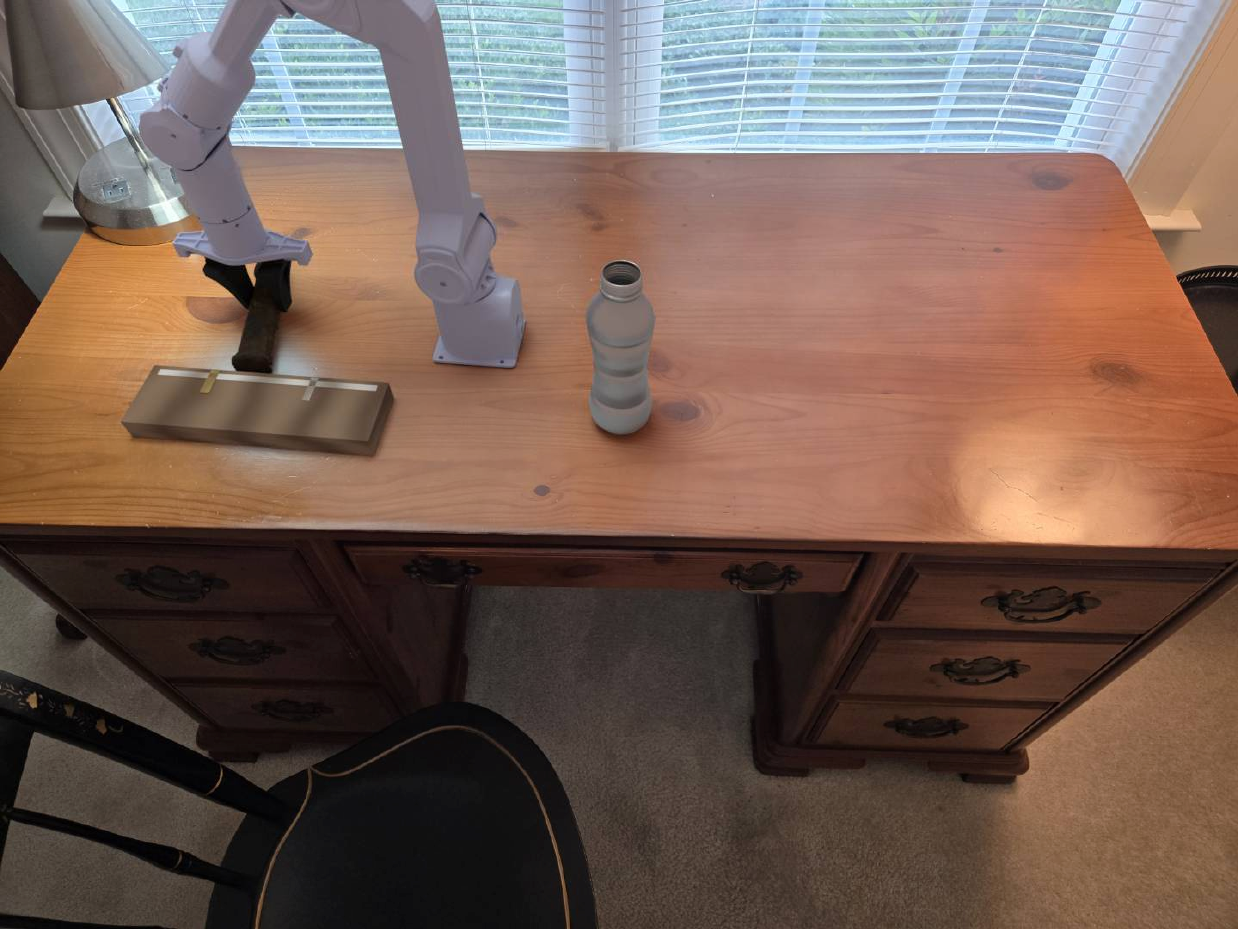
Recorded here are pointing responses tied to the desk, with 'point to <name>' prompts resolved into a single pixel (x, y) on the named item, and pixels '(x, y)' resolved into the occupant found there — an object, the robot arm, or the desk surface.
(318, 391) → the grey brown flat box
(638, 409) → the plastic bottle
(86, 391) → the desk surface
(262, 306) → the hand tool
